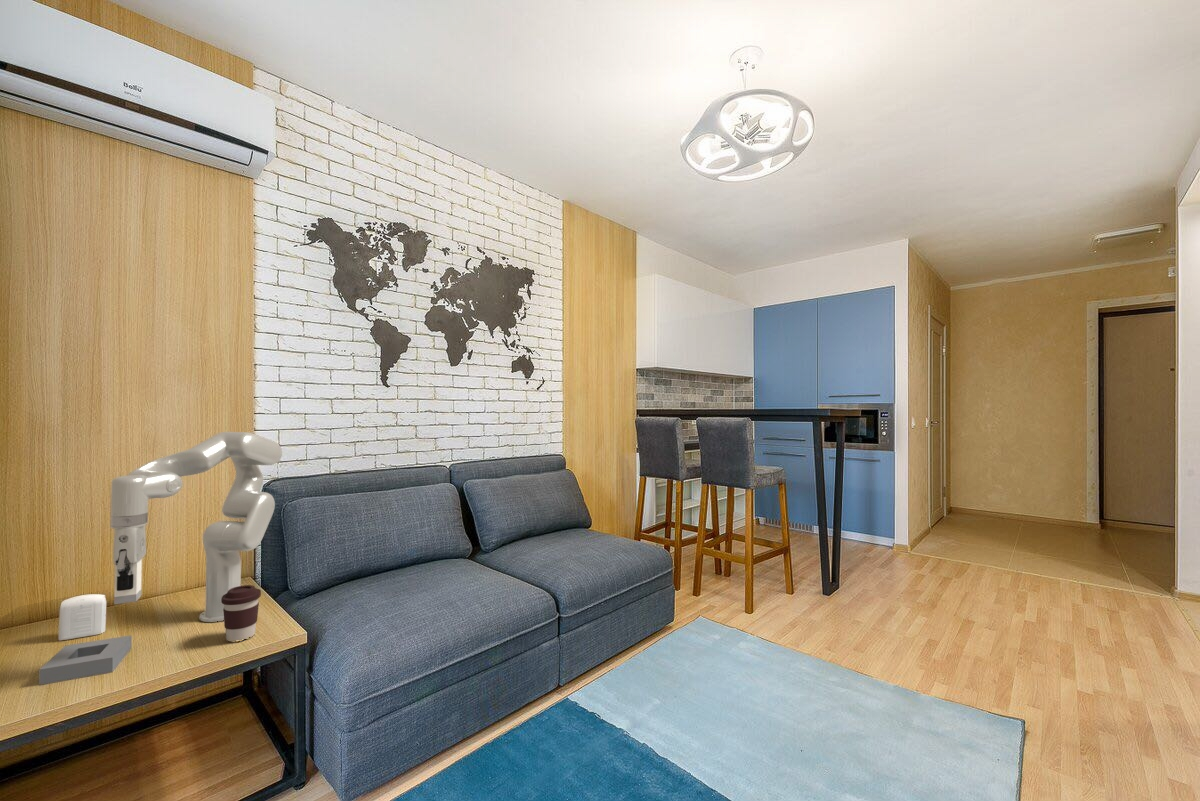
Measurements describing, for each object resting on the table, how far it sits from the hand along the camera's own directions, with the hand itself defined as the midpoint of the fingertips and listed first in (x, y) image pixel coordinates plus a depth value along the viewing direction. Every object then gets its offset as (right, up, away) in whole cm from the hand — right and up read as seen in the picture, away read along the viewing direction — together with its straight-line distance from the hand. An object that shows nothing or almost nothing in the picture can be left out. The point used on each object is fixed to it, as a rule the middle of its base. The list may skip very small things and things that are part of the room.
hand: (128, 585), depth 139 cm
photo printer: (-29, -21, +16) cm, 39 cm away
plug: (0, -4, 0) cm, 4 cm away
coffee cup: (+20, -22, +16) cm, 34 cm away
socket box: (-9, -21, -2) cm, 23 cm away
